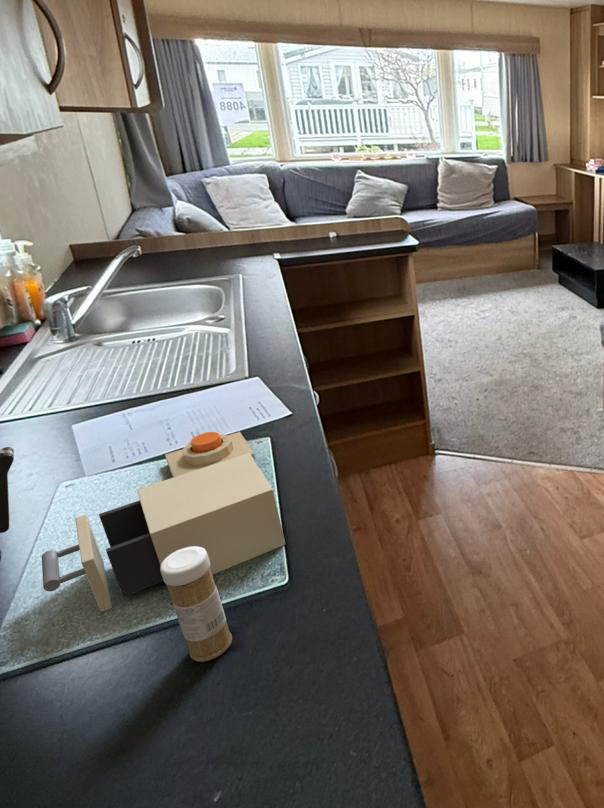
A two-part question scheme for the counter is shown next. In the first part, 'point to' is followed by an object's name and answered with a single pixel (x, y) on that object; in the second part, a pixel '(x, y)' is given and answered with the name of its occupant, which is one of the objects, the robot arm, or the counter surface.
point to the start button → (206, 442)
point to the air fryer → (214, 513)
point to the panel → (207, 455)
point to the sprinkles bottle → (196, 602)
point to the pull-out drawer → (110, 555)
